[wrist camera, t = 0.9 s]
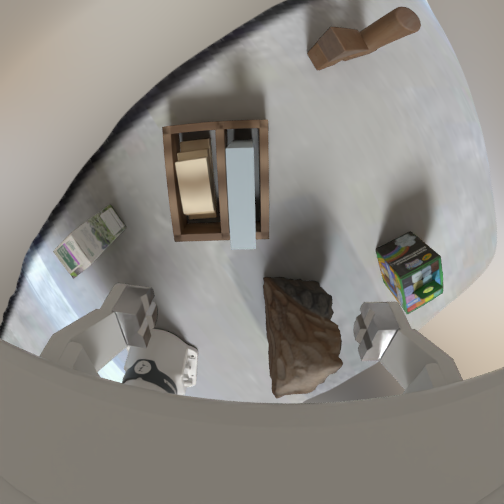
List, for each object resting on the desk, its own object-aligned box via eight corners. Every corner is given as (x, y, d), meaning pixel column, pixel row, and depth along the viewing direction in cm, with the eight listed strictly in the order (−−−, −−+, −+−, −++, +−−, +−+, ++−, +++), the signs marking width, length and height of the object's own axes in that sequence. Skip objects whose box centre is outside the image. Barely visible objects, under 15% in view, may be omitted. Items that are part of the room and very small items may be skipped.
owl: (326, 279, 53) (356, 353, 35) (312, 326, 59) (330, 400, 41) (263, 274, 52) (270, 353, 34) (256, 324, 58) (258, 401, 40)
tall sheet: (254, 210, 47) (255, 248, 33) (236, 210, 47) (230, 249, 33) (252, 139, 41) (253, 147, 28) (233, 140, 41) (225, 148, 28)
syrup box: (92, 219, 47) (50, 252, 34) (111, 202, 45) (69, 234, 32) (108, 241, 49) (72, 281, 36) (128, 227, 48) (92, 265, 35)
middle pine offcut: (215, 208, 44) (214, 212, 43) (188, 211, 44) (186, 215, 43) (209, 148, 40) (207, 149, 38) (180, 151, 40) (177, 153, 38)
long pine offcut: (217, 212, 47) (216, 217, 45) (192, 214, 47) (189, 219, 45) (211, 137, 41) (208, 138, 39) (183, 141, 41) (179, 142, 39)
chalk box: (383, 282, 54) (413, 327, 40) (374, 248, 50) (408, 291, 37) (418, 264, 52) (453, 304, 39) (411, 229, 48) (452, 265, 35)
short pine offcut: (215, 206, 42) (213, 210, 40) (186, 209, 42) (183, 214, 40) (208, 156, 38) (206, 157, 37) (178, 160, 39) (175, 162, 37)
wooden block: (305, 53, 34) (339, 16, 18) (359, 36, 32) (412, 4, 16) (316, 71, 36) (357, 44, 20) (369, 54, 33) (427, 30, 17)
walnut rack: (267, 227, 48) (268, 239, 43) (181, 229, 48) (174, 241, 43) (265, 120, 40) (267, 119, 35) (171, 126, 40) (162, 127, 35)
